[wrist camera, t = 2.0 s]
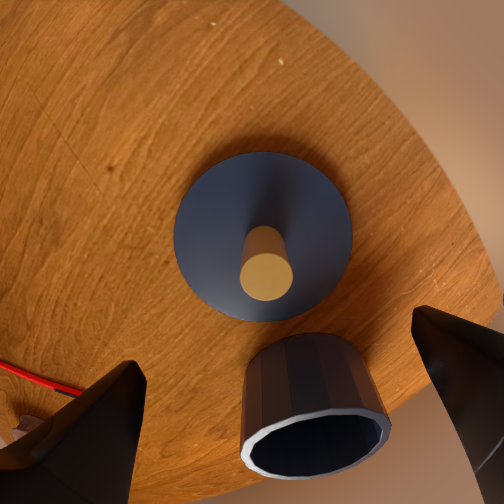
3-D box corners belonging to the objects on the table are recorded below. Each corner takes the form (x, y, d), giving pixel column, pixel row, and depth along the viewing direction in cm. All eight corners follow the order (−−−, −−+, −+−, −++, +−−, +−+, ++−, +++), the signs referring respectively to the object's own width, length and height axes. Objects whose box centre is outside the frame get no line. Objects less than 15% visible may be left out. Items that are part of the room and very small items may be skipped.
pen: (100, 399, 25) (96, 406, 24) (-4, 361, 25) (-8, 365, 24) (97, 393, 24) (93, 400, 23) (-6, 356, 24) (-10, 361, 23)
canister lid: (332, 136, 16) (366, 132, 11) (353, 295, 19) (381, 343, 14) (157, 176, 17) (118, 189, 11) (205, 325, 20) (191, 378, 15)
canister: (363, 319, 20) (400, 388, 13) (361, 401, 24) (381, 461, 17) (230, 346, 21) (221, 424, 14) (258, 421, 25) (258, 485, 18)
